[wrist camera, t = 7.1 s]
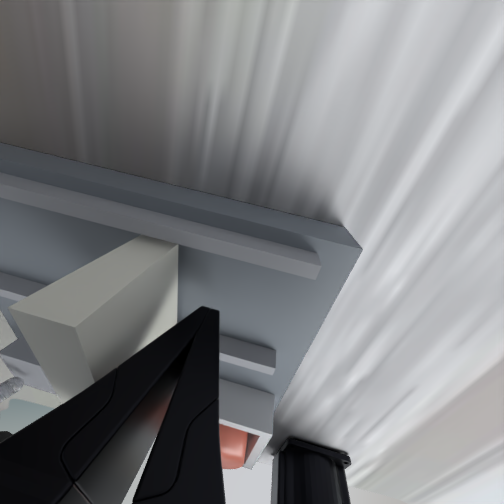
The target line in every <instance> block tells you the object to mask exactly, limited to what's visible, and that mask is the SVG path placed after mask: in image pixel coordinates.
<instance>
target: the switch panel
mask: <svg viewBox="0 0 504 504" xmlns="http://www.w3.org/2000/svg"><path fill="white" fill-rule="evenodd" d="M140 235H145V236H149V237H153V238H157V239H161V240H165V241H168V242H172V243H176V244H178V299H177V323H178V322H180V321H181V320H182V319H184V318H185V317H187V316H188V315H189V314H191V313H192V312H194V311H195V310H196V309H198V308H199V307H200V306H206V307H209V308H213V309H216V310H219V311H220V357H219V424H223V425H226V426H229V427H232V428H236V429H239V430H242V431H245V432H248V437H247V444H246V451H245V458H244V464H243V466H242V467H245V468H248V469H252V468H253V466H254V465H255V463H256V461H257V460H258V458H259V457H260V455H261V453H262V452H263V450H264V448H265V447H266V445H267V443H268V442H269V440H270V439H271V437H272V435H273V420H274V412H275V410H276V408H277V406H278V404H279V402H280V401H281V399H282V397H283V395H284V393H285V391H286V390H287V388H288V386H289V384H290V382H291V380H292V379H293V377H294V375H295V373H296V371H297V369H298V368H299V366H300V364H301V362H302V360H303V358H304V357H305V355H306V353H307V351H308V349H309V347H310V346H311V344H312V342H313V340H314V338H315V336H316V335H317V333H318V331H319V329H320V327H321V326H322V324H323V322H324V320H325V318H326V316H327V315H328V313H329V311H330V309H331V307H332V305H333V304H334V302H335V300H336V298H337V296H338V294H339V293H340V291H341V289H342V287H343V285H344V283H345V282H346V280H347V278H348V276H349V274H350V272H351V271H352V269H353V267H354V265H355V263H356V261H357V260H358V258H359V256H360V254H361V252H362V250H363V249H362V248H361V246H360V245H359V244H358V243H357V241H356V240H355V239H354V238H353V236H352V235H351V234H350V233H349V231H348V230H347V229H346V228H345V227H342V226H338V225H334V224H330V223H326V222H322V221H318V220H314V219H310V218H306V217H302V216H297V215H293V214H289V213H285V212H281V211H277V210H273V209H269V208H265V207H261V206H257V205H253V204H249V203H245V202H240V201H236V200H232V199H228V198H224V197H220V196H216V195H212V194H208V193H204V192H200V191H196V190H192V189H188V188H184V187H179V186H175V185H171V184H167V183H163V182H159V181H155V180H151V179H147V178H143V177H139V176H135V175H131V174H127V173H122V172H118V171H114V170H110V169H106V168H102V167H98V166H94V165H90V164H86V163H82V162H78V161H74V160H70V159H65V158H61V157H57V156H53V155H49V154H45V153H41V152H37V151H33V150H29V149H25V148H21V147H17V146H13V145H9V144H4V143H0V310H1V312H2V313H3V315H4V317H5V318H6V320H7V322H8V323H9V325H10V327H11V328H12V330H13V332H14V333H15V335H16V337H17V338H18V339H17V340H16V341H14V342H13V343H11V344H10V345H8V346H7V347H5V348H4V349H2V350H1V351H0V357H1V359H2V360H3V362H4V363H5V364H6V366H7V367H8V369H9V370H10V371H11V373H12V374H13V376H14V377H20V378H22V379H23V381H24V385H27V386H30V387H34V388H37V389H40V390H43V391H46V392H49V393H53V394H56V392H55V391H54V389H53V387H52V385H51V384H50V382H49V380H48V378H47V377H46V375H45V373H44V371H43V369H42V368H41V366H40V364H39V362H38V361H37V359H36V357H35V355H34V354H33V352H32V350H31V348H30V346H29V345H28V343H27V341H26V339H25V338H24V336H23V334H22V332H21V331H20V329H19V327H18V325H17V324H16V322H15V320H14V318H13V316H12V315H11V313H10V311H9V309H8V307H9V306H11V305H13V304H15V303H17V302H19V301H20V300H22V299H24V298H26V297H28V296H30V295H31V294H33V293H35V292H37V291H39V290H41V289H42V288H44V287H46V286H48V285H50V284H52V283H54V282H55V281H57V280H59V279H61V278H63V277H65V276H66V275H68V274H70V273H72V272H74V271H76V270H77V269H79V268H81V267H83V266H85V265H87V264H88V263H90V262H92V261H94V260H96V259H98V258H99V257H101V256H103V255H105V254H107V253H109V252H110V251H112V250H114V249H116V248H118V247H120V246H122V245H123V244H125V243H127V242H129V241H131V240H133V239H134V238H136V237H138V236H140ZM177 323H176V324H177Z"/></svg>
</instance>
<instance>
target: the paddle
mask: <svg viewBox="0 0 504 504" xmlns="http://www.w3.org/2000/svg"><path fill="white" fill-rule="evenodd" d="M177 299H178V244H176V243H172V242H168V241H165V240H161V239H157V238H153V237H149V236H145V235H140V236H138V237H136V238H134V239H133V240H131V241H129V242H127V243H125V244H123V245H122V246H120V247H118V248H116V249H114V250H112V251H110V252H109V253H107V254H105V255H103V256H101V257H99V258H98V259H96V260H94V261H92V262H90V263H88V264H87V265H85V266H83V267H81V268H79V269H77V270H76V271H74V272H72V273H70V274H68V275H66V276H65V277H63V278H61V279H59V280H57V281H55V282H54V283H52V284H50V285H48V286H46V287H44V288H42V289H41V290H39V291H37V292H35V293H33V294H31V295H30V296H28V297H26V298H24V299H22V300H20V301H19V302H17V303H15V304H13V305H11V306H9V307H8V309H9V311H10V313H11V315H12V316H13V318H14V320H15V322H16V324H17V325H18V327H19V329H20V331H21V332H22V334H23V336H24V338H25V339H26V341H27V343H28V345H29V346H30V348H31V350H32V352H33V354H34V355H35V357H36V359H37V361H38V362H39V364H40V366H41V368H42V369H43V371H44V373H45V375H46V377H47V378H48V380H49V382H50V384H51V385H52V387H53V389H54V391H55V392H56V394H57V396H58V398H59V399H60V401H61V403H62V404H63V403H65V402H66V401H68V400H69V399H71V398H73V397H74V396H76V395H77V394H79V393H80V392H82V391H83V390H85V389H86V388H88V387H89V386H91V385H92V384H93V383H95V382H96V381H98V380H99V379H101V378H102V377H104V376H105V375H106V374H108V373H109V372H110V371H112V370H113V369H115V368H118V366H119V365H120V364H122V363H123V362H124V361H126V360H127V359H129V358H130V357H131V356H133V355H134V354H135V353H137V352H138V351H140V350H141V349H142V348H144V347H145V346H147V345H148V344H149V343H151V342H152V341H153V340H155V339H156V338H158V337H159V336H160V335H162V334H163V333H164V332H166V331H167V330H169V329H170V328H171V327H173V326H174V325H176V323H177Z"/></svg>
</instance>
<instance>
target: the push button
mask: <svg viewBox="0 0 504 504" xmlns="http://www.w3.org/2000/svg"><path fill="white" fill-rule="evenodd" d="M219 429H220V448H221V461H222V469H236V468H240V467H242V466H243V464H244V458H245V451H246V444H247V437H248V432H245V431H242V430H239V429H236V428H232V427H229V426H226V425H223V424H219Z"/></svg>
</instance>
